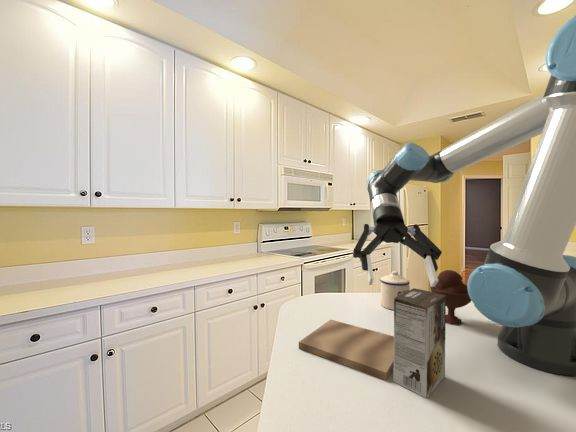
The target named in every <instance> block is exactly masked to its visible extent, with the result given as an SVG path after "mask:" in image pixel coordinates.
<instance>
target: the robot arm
mask: <svg viewBox="0 0 576 432" xmlns="http://www.w3.org/2000/svg"><path fill="white" fill-rule="evenodd" d="M545 64H546V69H547V71H548V73H549V74H550V77H549V80H548V83H547V85H546V88H545V91H544V93H542V94H541V95H539V96H537V97H534V98H533V99H531V100H530V101H528V102H526V103H524V104H522V105H521V106H518V107H517V108H515V109H514V110H510V112H508V113H506V114H504V115H503V116H501V117H499V118H497V119H495V120H494V121H492V122H490V123H488V124H485V125H484V126H482V127H481V128H479V129H477V130H475V131H474V132H472V133H470V134H468V135H466V136H463V138H460V139H459V140H457V141H455V142H453V143H452V144H450V145H448V146H446V147H444V148H443V149H441V150H439V151H437V152H436V153H435V152H434V154H431V155H429V153H428V152H427V150H425V149H424V148H423V147H422V146H421V145H418V144H416V143H414V142H407V143H405V144H404V145H403V147H401V149H399V150H398V151H397V152H396V153H395V155H394V156H393V157H392V158H391V160H390V161H389V162H387V164H386V166H385V167H384V168H383V169H378V170H376V171H374V172H372V173H370V174H369V175H368V178H367V181H366V183H367V193H368V196H369V203H370V206H371V212H372V219H373V220H372V221H373V225H374V226H370V225H369V224H368V223H364V225H363V229H362V230H363V231H362V233H361V235H360V237H359V239H358V241H357V243H356V244H355V247H354V249H353V253H352V256H353V258H354V259H357V258H358V259H359V261H360V262H361V270H362V271H366V274H367V283H368V286H373V283H374V279H375V277H374V273H373V272H374V271H373V264H372V257H371V254H372V253H373V252H374V250H375V249H376V248H378V246H379V245H381V244H382V243H383V242H385V243H386V244H390V243H394V244H399V243H400V244H402V245H403V246H406V247H408V248H409V249H410V250H411V251H413V252H414V253H416V254H417V255H418V256H420V257H421V258H423V259H424V261H423V264H424V268H425V272H426V275H427V278H428V281H429V285H430V288H431V287H435V286H436V284H437V282H438V278H437V277H438V275H437V271H438V268H439V267H438V265H437V264H438V263H437V260H439V259H440V257H441V255H442V253H443V252H442V250H441V249H440V248H439V247H438V246H437V245H436V244H435V243H434V242H432V240H431V239H430V238H429V237H428V236H427V235H426V234H424V232H423V231H422V230H421V228H420V226H419V225H418V224H416V223H415V224H413V226H407V225H406V224H405V219H404V216H403V212H402V209H401V205H400V202H399V197H398V193H399V191H401V189H403V188H404V187H405V186H406V185H407V184H408V183H409V182H410V181H412V182H413V181H415V182H425V183H433V184H440V183H444V182H447V181H449V180H451V179H452V178H453V176H454V174H456V173H458V172H460V171H462V170H465V169H467V168H469V167H471V166H474V165H476V164H478V163H480V162H482V161H484V160H487V159H489V158H491V157H493V156H496V155H497V154H500V153H502V152H504V151H506V150H508V149H509V150H510V149H511V148H513V147H515V146H517V145H519V144H522V143H524V142H526V141H529V140H531V139H533V138H535V137H538V136H539V135H540V137H539V140H538V143H537V145H536V148H535V151H534V154H533V156H532V159H531V162H530V164H529V168H528V170H527V172H526V176H525V178H524V181H523V182H522V183H523V184H522V187H521V190H520V192H519V195H518V197H517V201H516V203H515V206H514V208H513V212H512V214H511V217H510V219H509V223H508V224H507V227H506V230H505V233H504V235H503V237H502V239H501V240H500V241H497V242H494V243H491V244H490V246H489V249H488V251H487V255H486V257H485V260H484V262H483V265H482V264H481V265H479V266H477V267H476V268H475V269H474V270H472V272H471V274H470V275H469V277H468V280H467V284H466V285H467V289H468V294H469V297H470V299H471V300H472V301H471V302H472V304H473V305H474V307H475V308H476V309H477V311H478V312H479V313H480V314H481V315H482V316H484V317H485V318H486V319H488V320H489V321H491V322H493V323H496V324H497V325H500V326H501V328H500V329H499V332H498V334H497V348H498V349H499V350H500V351H501V352H502V353H503V354H504V355H506V356H507V357H508V358H510V359H513V360H514V361H516V362H518V363H520V364H523V365H526V366H528V367H531V368H534V369H537V370H540V371H544V372H548V373H551V374H557V375H563V376H571V377H576V256H574V255H567V254H566V255H565V254H564V252H565V251H566V248H567V246H568V245H569V241H570V239H571V237H572V234H573V232H574V229H575V227H576V15H575V16H573V17H572V18H571V19H568V21H566V22H565V23H564V24H563V25H562V26H561V27H560V28H559V30H557V32H556V33H555V35H554V36H553V37H552V39H551V41H550V42H549V44H548V47H547V49H546V53H545ZM372 233H374V234H375V235H376V236H375V237H374V238H373V239H372V240H371V241H370V242H369V244H367V245H366V246H365V248H363V247H364V245H365V243H366V241H367V239H368V236H370V235H371V234H372Z"/></svg>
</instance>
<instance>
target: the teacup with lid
mask: <svg viewBox="0 0 576 432" xmlns="http://www.w3.org/2000/svg"><path fill="white" fill-rule="evenodd" d="M379 280H380V281H379V282H380V305H381V307H383V308H384V307H385V308H384V309H387V310H390V309H391V310H392V311H394V298H396V297H397V296H399V295H401V294H403V293H405V292H407V291H409V290H411V289H410V280H409V279H408V278H406V277H404V276H402V275H401V274H399V272H398V271H395V270H393V271H392V270H391V273H389V274H388V275H383V276H381V277H380V279H379ZM391 310H390V311H391Z"/></svg>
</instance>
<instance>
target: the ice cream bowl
mask: <svg viewBox="0 0 576 432" xmlns="http://www.w3.org/2000/svg"><path fill="white" fill-rule="evenodd" d="M437 278H438V282H437V284H436V286H435V287H431V286H430V290H431V291H430V292H433V293H436V294H441V295H446V308H447V314H446V316H445V324H448V325H453V326H454V325H455V326H460V325H462V324H463V321H462V319H460V318H459V317H458V316H457V315H455V312H456V309H458V308H459V309H460V308H463V307H465V306H467V305H469V304H470V303H471V302H472V300H471V299H470V297H469V294H468V289H467V284H465V283H464V282H463V276H462V275H461V274H459V272H457V271H455V270H452V269H446V270H443V271H441V272H440V273H438V275H437Z"/></svg>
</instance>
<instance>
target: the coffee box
mask: <svg viewBox="0 0 576 432" xmlns="http://www.w3.org/2000/svg"><path fill="white" fill-rule="evenodd" d="M446 308H447V306H446V295H441V294H436V293H433V292H431V291H428V290H425V289H420V288H419V289H418V288H411V289H410V290H409V291H407V292H405V293H403V294H401V295H399V296H397V297H396V298H394V310H393V336H394V368H393V376H392V378H393V383H396V384H398V385H399V386H401V387H403V388H405V389H408V390H409V391H412V392H414V393H415V394H416V395H417V394H418V395H420V396H422V397H424V398H426V399H427V398H429V396H431V394H432V393H433V392H434V391H435V389H436V388H437V386H438V385H439V384H440V383H441V381H443V380H444V378H445V377H446V323H445V316H446V315H447V314H446V312H447V311H446Z"/></svg>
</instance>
